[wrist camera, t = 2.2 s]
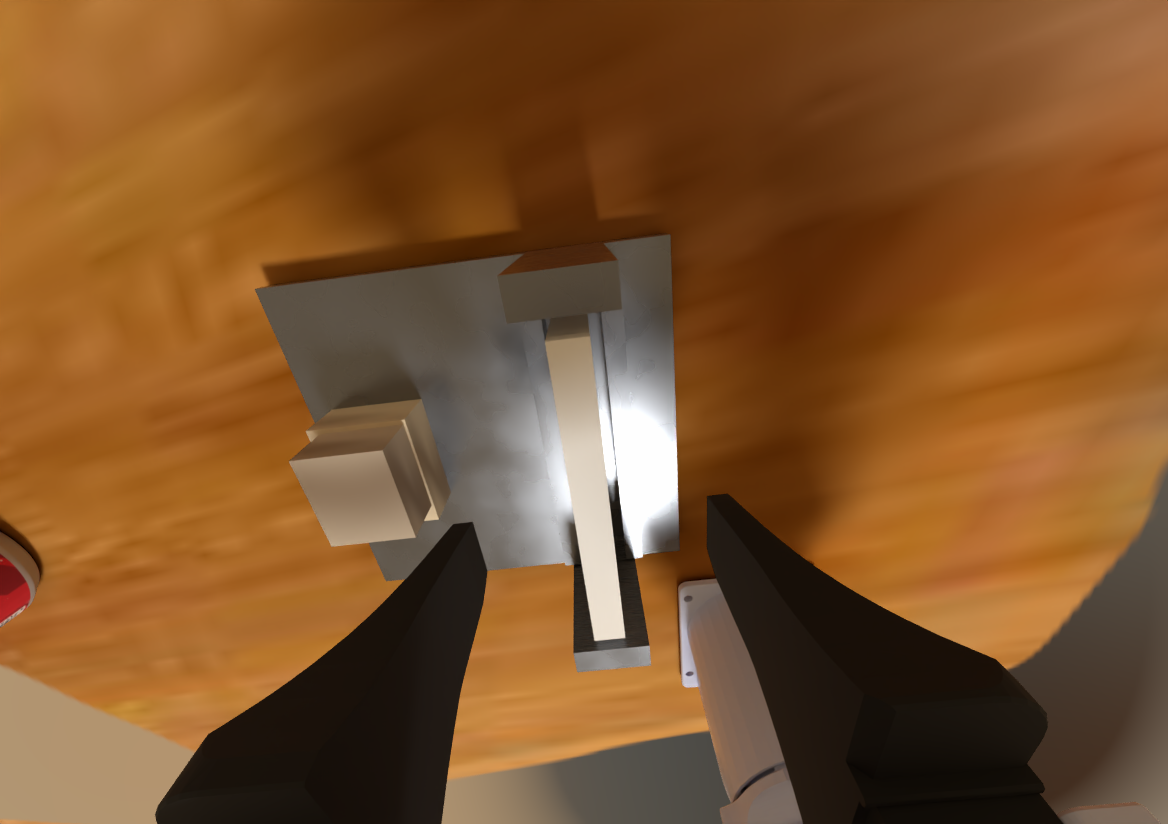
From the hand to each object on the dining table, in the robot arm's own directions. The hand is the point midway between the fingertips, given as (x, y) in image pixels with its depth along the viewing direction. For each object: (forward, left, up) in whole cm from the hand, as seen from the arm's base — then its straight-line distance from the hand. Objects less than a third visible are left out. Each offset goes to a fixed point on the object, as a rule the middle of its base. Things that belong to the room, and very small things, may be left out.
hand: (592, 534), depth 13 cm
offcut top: (0, +9, -5) cm, 10 cm away
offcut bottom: (0, +9, -7) cm, 11 cm away
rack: (0, +4, -8) cm, 9 cm away
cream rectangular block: (0, 0, -7) cm, 7 cm away
